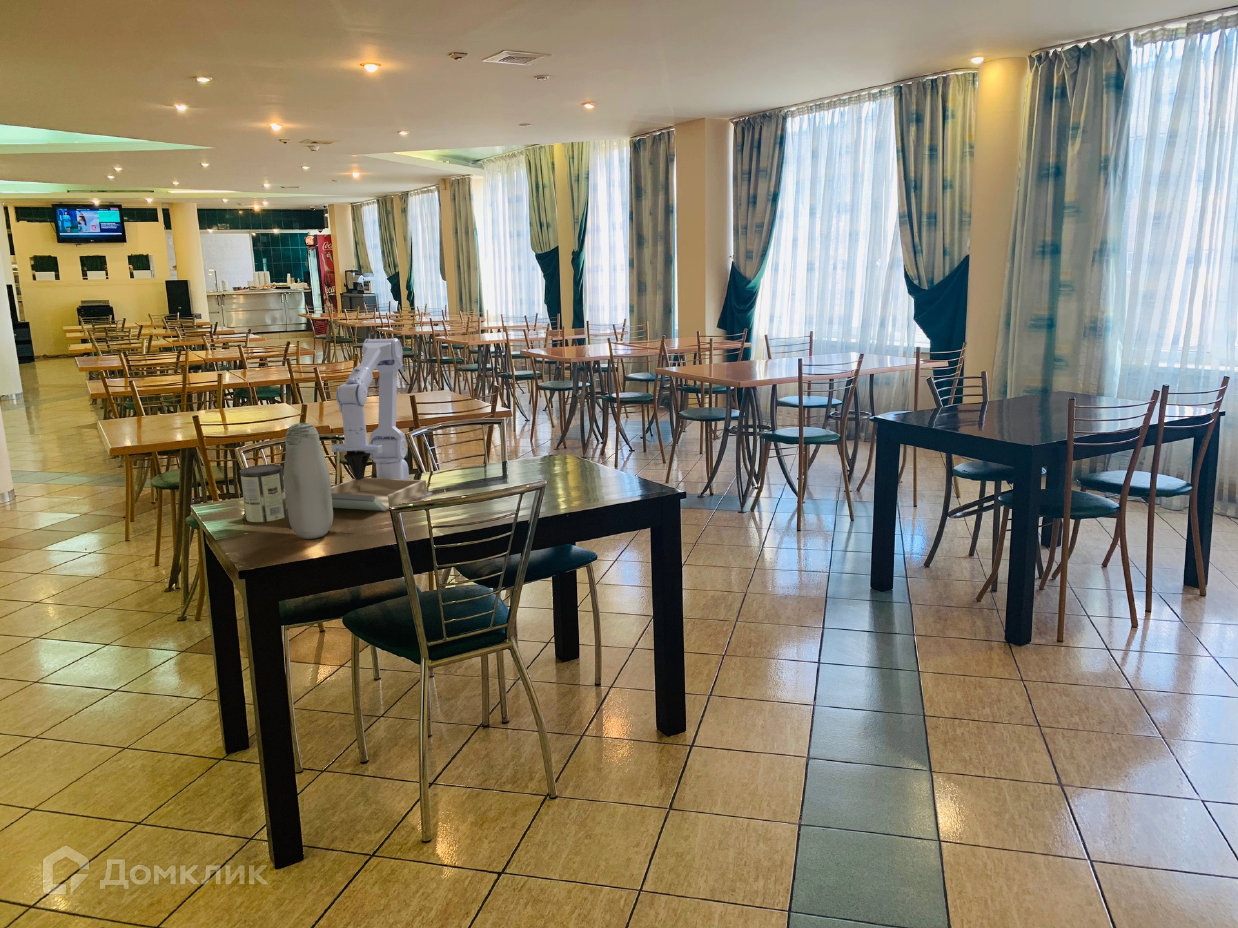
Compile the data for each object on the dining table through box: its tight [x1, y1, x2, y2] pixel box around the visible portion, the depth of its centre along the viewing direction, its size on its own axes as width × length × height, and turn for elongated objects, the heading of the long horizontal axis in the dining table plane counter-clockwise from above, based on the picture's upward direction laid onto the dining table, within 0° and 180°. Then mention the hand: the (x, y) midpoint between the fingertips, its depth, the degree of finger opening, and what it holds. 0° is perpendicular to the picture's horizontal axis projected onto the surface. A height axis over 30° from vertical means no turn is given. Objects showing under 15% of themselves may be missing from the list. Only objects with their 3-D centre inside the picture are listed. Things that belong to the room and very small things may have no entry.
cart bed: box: [331, 476, 428, 510], centre depth 246 cm, size 17×22×5 cm
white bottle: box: [283, 422, 334, 540], centre depth 212 cm, size 10×10×28 cm
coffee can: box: [239, 463, 288, 527], centre depth 230 cm, size 10×10×14 cm
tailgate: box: [331, 493, 387, 512], centre depth 234 cm, size 1×19×7 cm
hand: (359, 478), depth 239 cm, fingers closed
